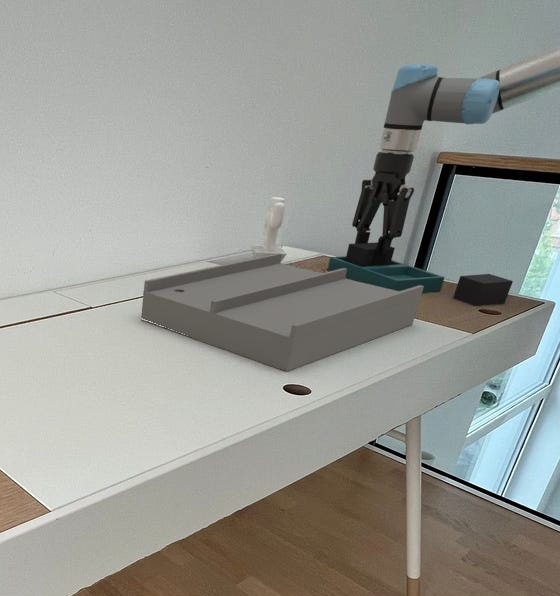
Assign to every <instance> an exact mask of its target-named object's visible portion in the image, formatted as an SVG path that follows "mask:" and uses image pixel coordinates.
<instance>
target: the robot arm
mask: <svg viewBox="0 0 560 596" xmlns="http://www.w3.org/2000/svg"><path fill="white" fill-rule="evenodd" d="M438 71H439V67H438V66H437V65H434V64H403V65H402V66H400V67H399V69H398V70H397V73H396V76H395V81H394V84H393V87H392V90H391V92H390V98H389V102H388V103H389V104H388V107H387V110H386V111H387V112H386V116H385V120H384V123H383V128H382V131H381V136H380V140H379V144H378V149H379V150H380V151H378V152H377V153H376V154H375V155H376V156H375V160H374V164H373V168H372V169H373V171H374V172H375V173H374V176H373V177H372V178H371V179H363V180H361V190H360V195H359V198H358V201H357V205H356V210H355V212H354V216H353V219H352V223H351V226H352V227H353V228H355V229H356V231H357V233H356V236H355V241H354V244H356V243H369V239H370V236H371V232H370V231H371V228H370V227H371V225H372V223H373V221H374V219H375V217H376V215H377V213H378V211H379V208H380V206H381V205H382V206H383V217H382V218H383V219H382V235H380V236H379V238H378V240H377V247H376V251H375V255H374V259H373V263H372V266H383V265H384V262H385V258H386V254H388V253H389V249H390V247H392V242H393V240H394V239H395V238H396V239H397V238H401V237H402V235H403V230H404V226H405V222H406V218H407V214H408V209H409V205H410V201H411V198H412V196H413V194H414V192H415V188H414V187H408V186H407V185H406V177H407V175H408V174H409V173H410V172H411V169H412V165H413V163H414V159H415V156H414V153H413V152H416V151H417V148H418V144H419V140H420V136H421V133H422V130H423V124H424V122H425V121H426V122H427V121H428V122H439V123H440V122H441V123H451V124H452V123H453V124H465V125H482V124H483V125H484V124H486V123H487V122H488V121H489V120H490V118H491V117H492V115H493V114H496V113H498V112H501V111H503V110H506V109H509V108H512V107H514V106H517V105H520V104H523V103H525V102H528V101H530V100H533V99H536V98H540V97H542V96H544V95H548V94H550V93H553V92H556V91H559V90H560V45H558V46H555V47H554V48H550V49H548V50H546V51H542V52H541V53H538V54H536V55H533V56H530V57H527V58H525V59H523V60H520V61H518V62H516V63H513V64H511V65H508V66H506V67H503V68H501V69H498V70H495V71H493V72H489V73H488V74H484V75H482V76H480V77H478V78H476V77H475V78H474V77H441V76H438Z"/></svg>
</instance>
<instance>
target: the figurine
mask: <svg viewBox="0 0 560 596" xmlns="http://www.w3.org/2000/svg"><path fill="white" fill-rule="evenodd" d="M269 202H270V203H269V204H268V205H269V206H268V212H267V214H266V216H265V219H264V224H263V225H264V227H263V235H264V241H263V245H261V246H260V245H259V246H258V245H250V248H251V252H252V256H253V258H258V257H263V256H268V255H273V254H278V253H279V254H282V256H281V262H280V263H281V264H282V262H283V260H284V259H285V257H286V256H287V252H286V251H285V250H284V249H283V248H282V247H281V246H276V243H277V237H278V233H279V229H280V228H281V227H282V224H283V220H284V215H285V209H286V205H285V198H283V197H279V196H271V197H270V201H269Z"/></svg>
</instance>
